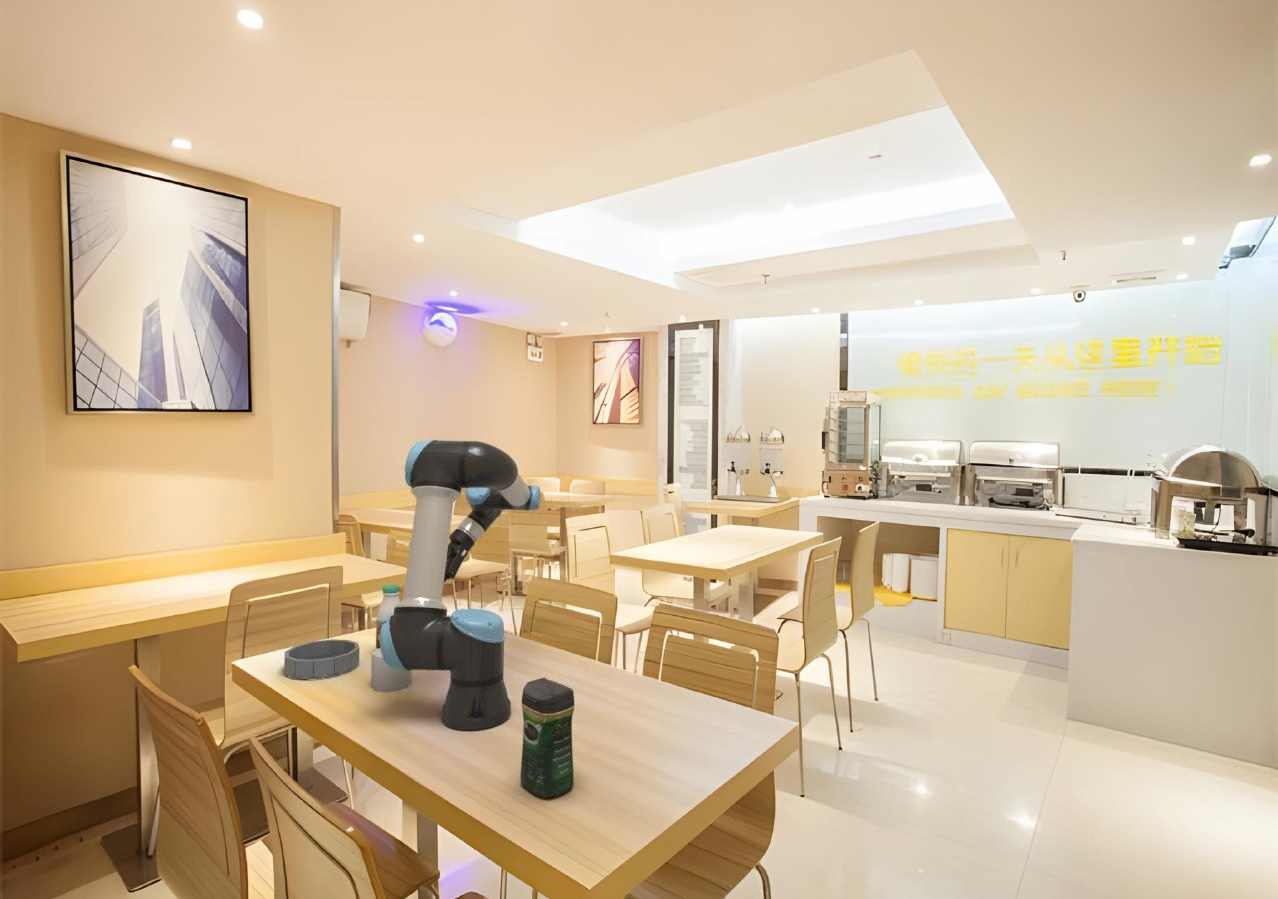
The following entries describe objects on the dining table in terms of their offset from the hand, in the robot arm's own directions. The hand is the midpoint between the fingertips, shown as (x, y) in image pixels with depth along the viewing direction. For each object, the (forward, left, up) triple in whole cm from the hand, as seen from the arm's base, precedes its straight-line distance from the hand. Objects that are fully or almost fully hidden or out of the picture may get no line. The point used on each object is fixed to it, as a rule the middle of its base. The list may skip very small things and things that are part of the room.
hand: (418, 590), depth 190 cm
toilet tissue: (-17, +22, -18) cm, 33 cm away
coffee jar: (-81, +38, -18) cm, 91 cm away
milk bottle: (+2, +8, -18) cm, 20 cm away
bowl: (+8, +25, -17) cm, 32 cm away
